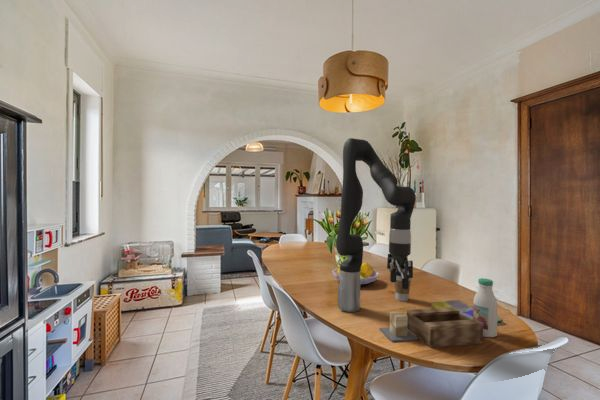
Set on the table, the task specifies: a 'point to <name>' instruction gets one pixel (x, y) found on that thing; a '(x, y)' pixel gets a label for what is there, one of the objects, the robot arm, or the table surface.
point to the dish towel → (460, 308)
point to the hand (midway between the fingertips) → (398, 285)
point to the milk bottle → (486, 307)
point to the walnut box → (444, 327)
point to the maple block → (398, 323)
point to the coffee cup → (400, 293)
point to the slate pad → (397, 338)
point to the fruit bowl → (366, 274)
